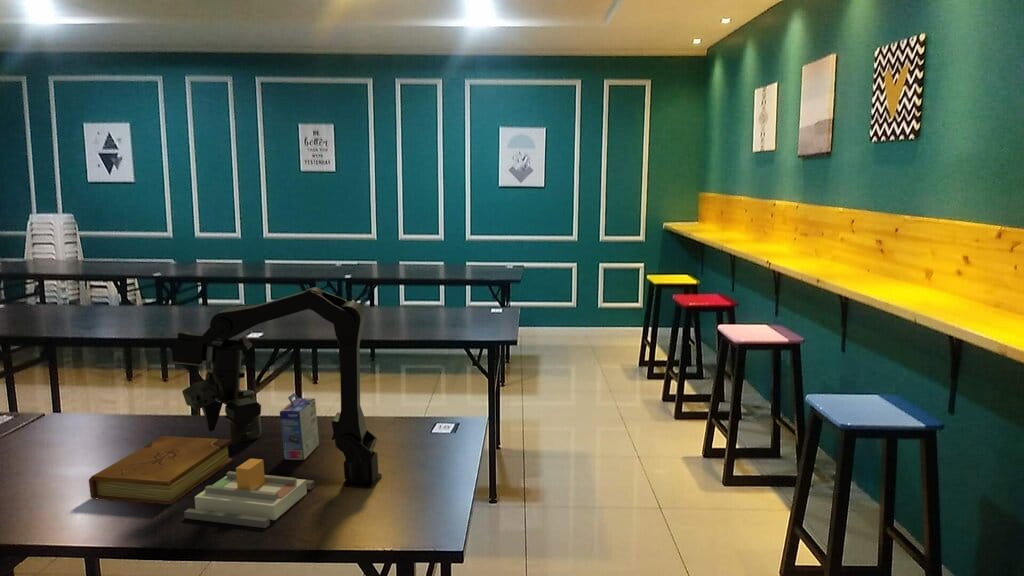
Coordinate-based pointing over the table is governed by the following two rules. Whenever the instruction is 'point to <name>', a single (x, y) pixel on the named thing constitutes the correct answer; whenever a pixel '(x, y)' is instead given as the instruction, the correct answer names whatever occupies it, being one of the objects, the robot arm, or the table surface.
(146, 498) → the diary
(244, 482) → the handle
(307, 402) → the ink cartridge box
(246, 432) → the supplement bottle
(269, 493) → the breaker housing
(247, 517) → the grey base plate
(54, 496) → the table surface
